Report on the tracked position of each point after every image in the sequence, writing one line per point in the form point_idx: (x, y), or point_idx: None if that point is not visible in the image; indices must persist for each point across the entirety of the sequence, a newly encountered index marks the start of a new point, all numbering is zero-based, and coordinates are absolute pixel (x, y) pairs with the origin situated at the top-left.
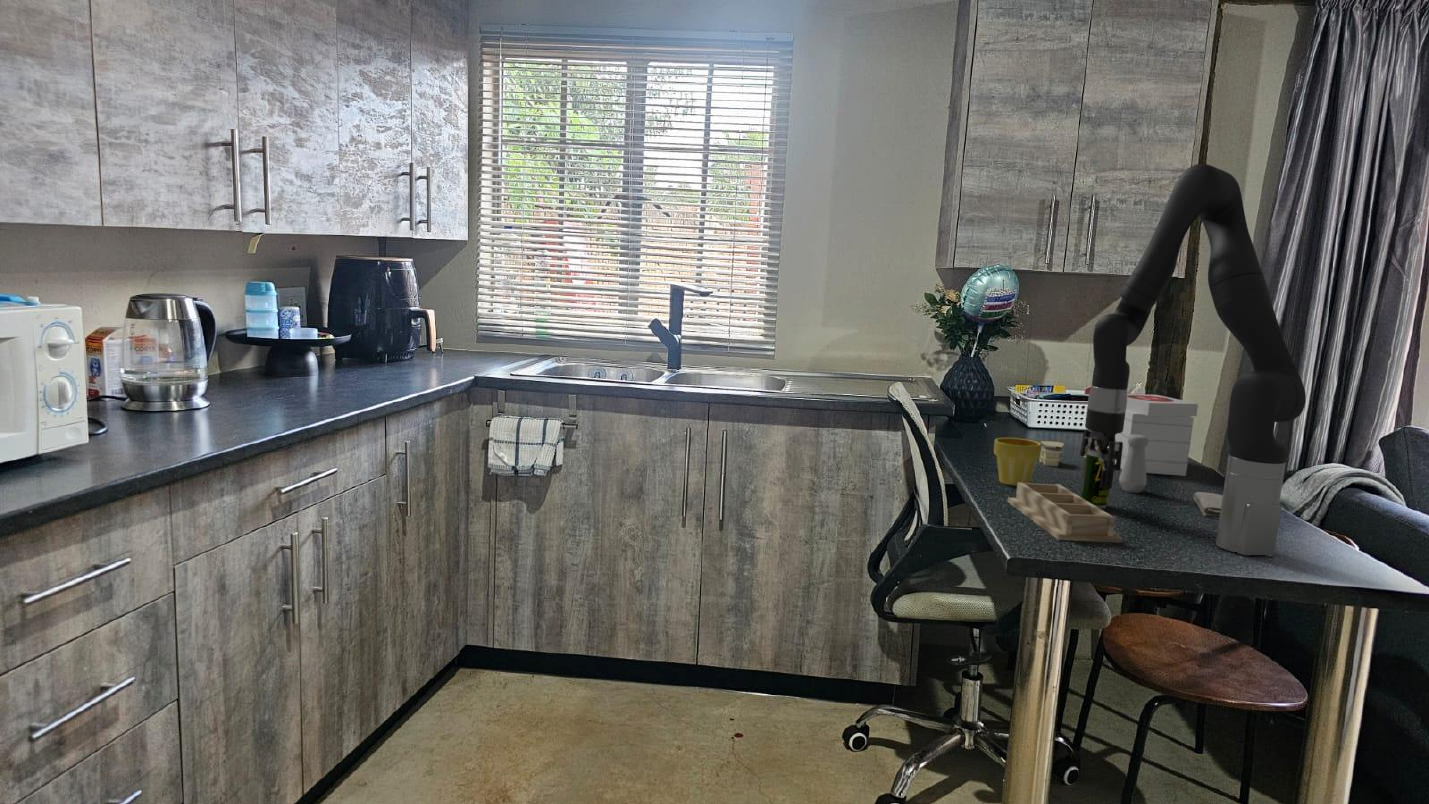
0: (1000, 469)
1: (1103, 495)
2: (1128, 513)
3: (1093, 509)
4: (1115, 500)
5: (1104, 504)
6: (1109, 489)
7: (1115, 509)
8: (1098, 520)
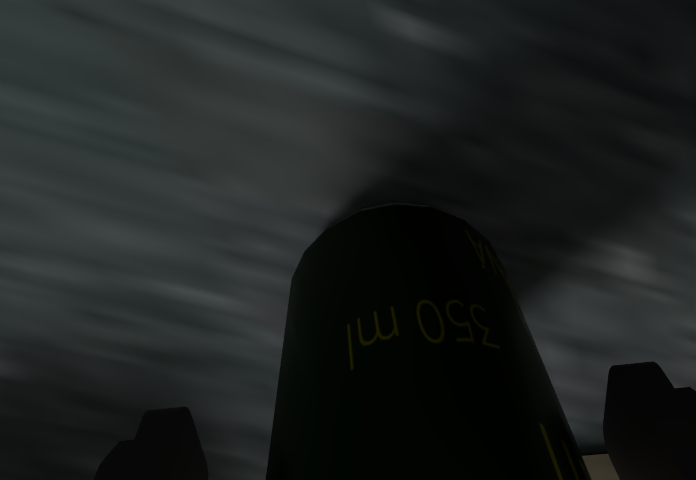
0: None
1: (528, 328)
2: (612, 61)
3: None
4: (81, 13)
5: (496, 257)
6: (480, 297)
7: (479, 139)
8: None
